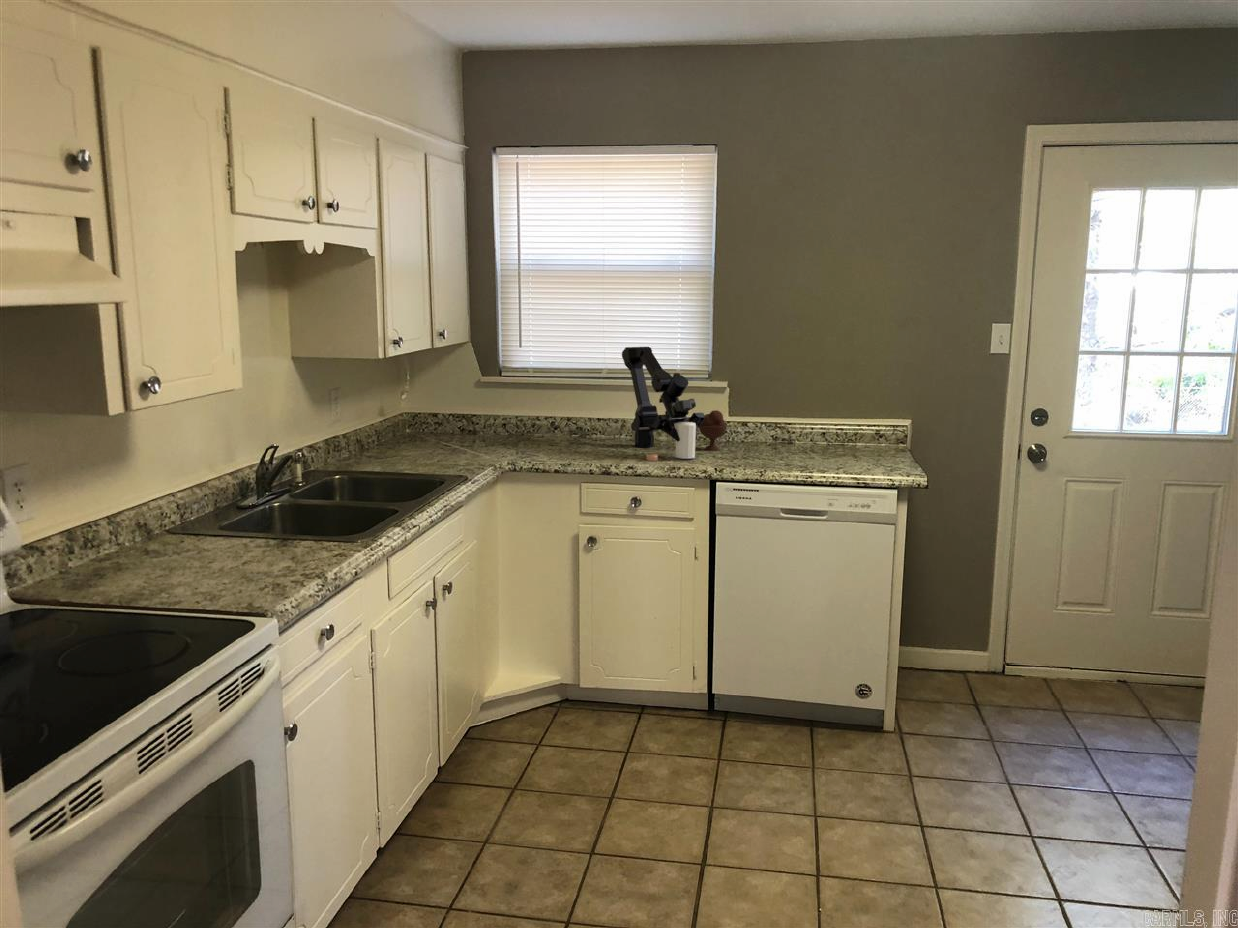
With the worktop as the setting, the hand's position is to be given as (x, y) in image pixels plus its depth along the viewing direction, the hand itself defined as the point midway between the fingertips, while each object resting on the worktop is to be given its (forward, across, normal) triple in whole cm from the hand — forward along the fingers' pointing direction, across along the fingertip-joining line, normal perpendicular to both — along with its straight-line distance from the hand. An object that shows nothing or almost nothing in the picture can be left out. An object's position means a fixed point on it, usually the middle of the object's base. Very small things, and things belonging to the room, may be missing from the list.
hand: (687, 440), depth 329 cm
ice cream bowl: (-6, +20, +16) cm, 27 cm away
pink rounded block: (+3, -12, +8) cm, 15 cm away
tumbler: (+3, 0, +5) cm, 6 cm away
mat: (+4, 0, +7) cm, 8 cm away
